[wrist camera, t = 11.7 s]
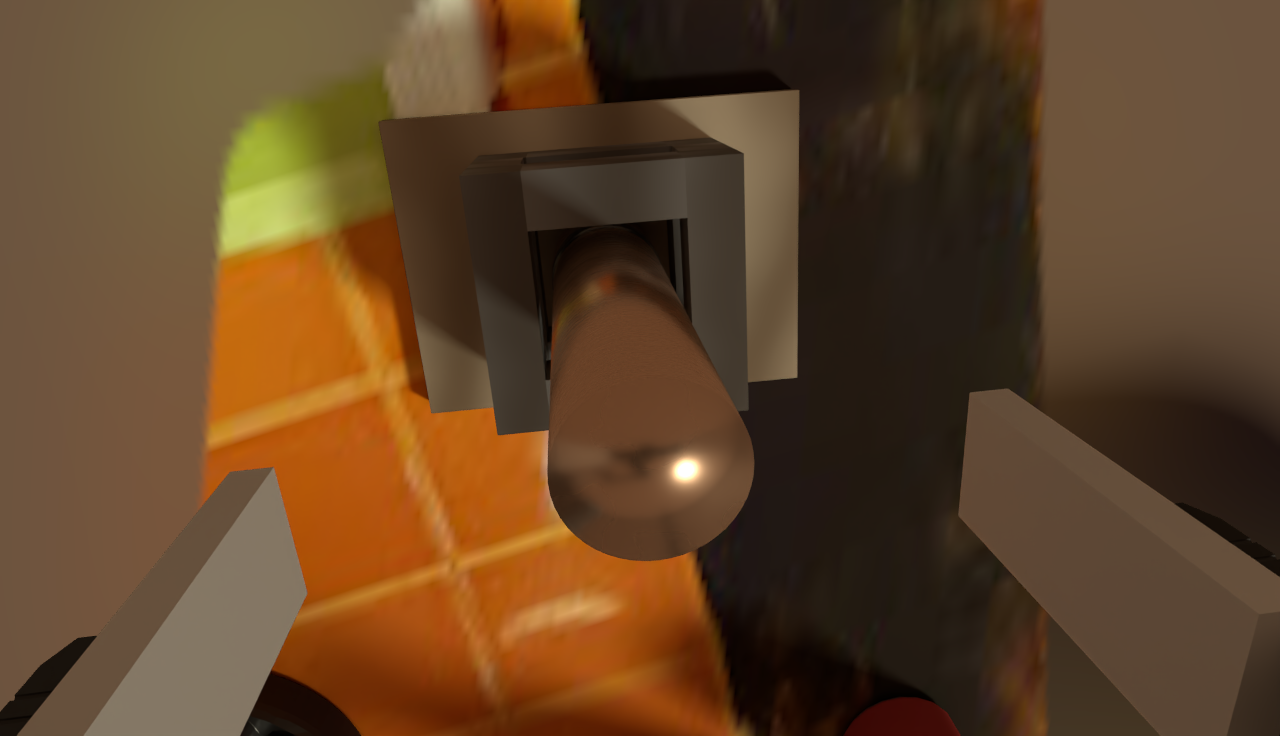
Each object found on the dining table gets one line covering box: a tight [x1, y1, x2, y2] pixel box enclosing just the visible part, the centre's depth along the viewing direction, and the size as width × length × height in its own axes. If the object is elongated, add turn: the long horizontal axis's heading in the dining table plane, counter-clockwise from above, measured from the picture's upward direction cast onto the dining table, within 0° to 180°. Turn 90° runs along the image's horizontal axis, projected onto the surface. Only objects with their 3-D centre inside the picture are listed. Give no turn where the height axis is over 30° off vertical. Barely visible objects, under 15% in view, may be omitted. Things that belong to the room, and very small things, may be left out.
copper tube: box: [548, 222, 754, 561], centre depth 23 cm, size 4×4×18 cm
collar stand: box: [379, 89, 799, 435], centre depth 29 cm, size 16×12×7 cm
